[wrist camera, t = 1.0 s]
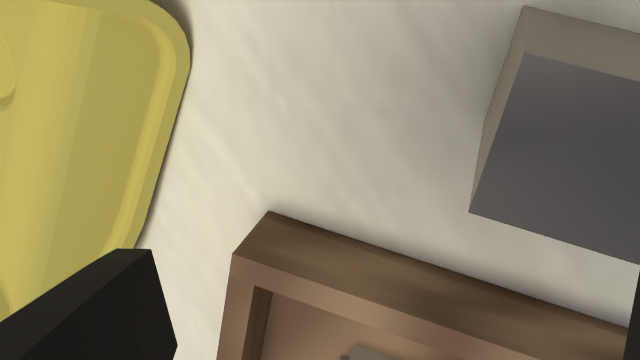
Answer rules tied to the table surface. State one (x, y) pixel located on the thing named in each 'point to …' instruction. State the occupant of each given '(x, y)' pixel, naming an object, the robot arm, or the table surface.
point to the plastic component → (80, 132)
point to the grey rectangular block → (565, 135)
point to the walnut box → (385, 307)
